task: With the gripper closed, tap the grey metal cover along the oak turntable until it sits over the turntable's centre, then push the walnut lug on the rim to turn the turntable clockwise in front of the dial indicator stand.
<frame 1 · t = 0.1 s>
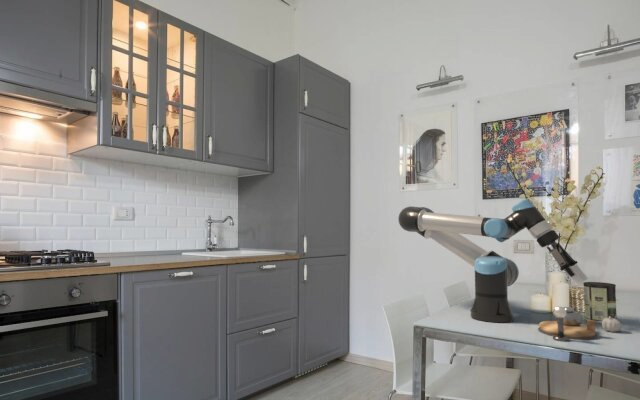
hand: (582, 282, 152), 15 cm above the table, tool tilted 35°, fingers open, 13 cm apart
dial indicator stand: (560, 339, 129), on the table
cast cover: (568, 324, 141), point 2 cm above the table, touching turntable
turntable base: (566, 332, 138), on the table
turntable: (566, 324, 138), point 3 cm above the table, hinge at 0.0°, touching cast cover
garlic: (611, 332, 141), on the table
coffee can: (600, 321, 157), on the table
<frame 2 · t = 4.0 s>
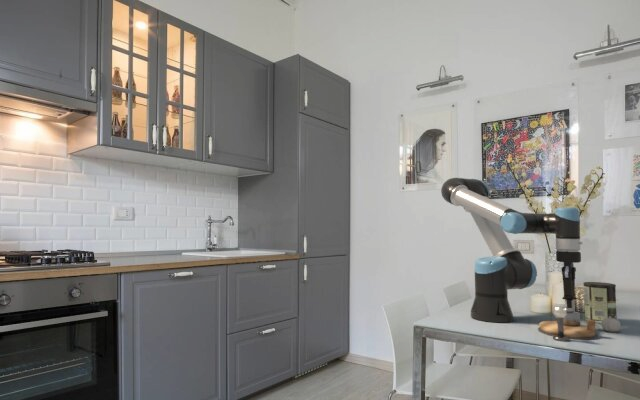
hand: (570, 318, 145), 3 cm above the table, tool pointing down, fingers closed
cast cover: (568, 324, 141), point 2 cm above the table, touching gripper, turntable
everything else where it was.
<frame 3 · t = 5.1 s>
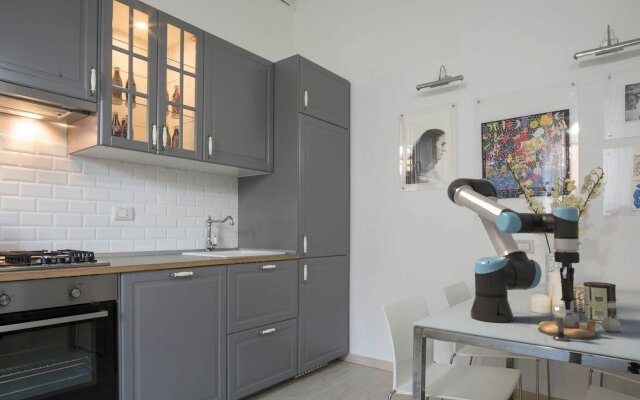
hand: (568, 319, 142), 3 cm above the table, tool pointing down, fingers closed
cast cover: (567, 326, 138), point 2 cm above the table, touching gripper, turntable
everything else where it was.
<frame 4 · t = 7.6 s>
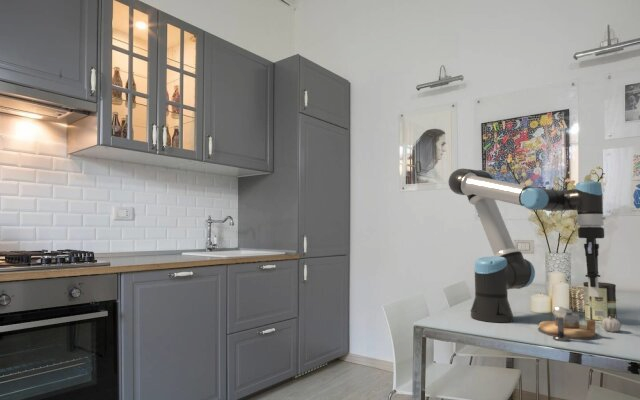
hand: (593, 296, 139), 12 cm above the table, tool pointing down, fingers closed
cast cover: (567, 326, 138), point 2 cm above the table, touching turntable
everything else where it was.
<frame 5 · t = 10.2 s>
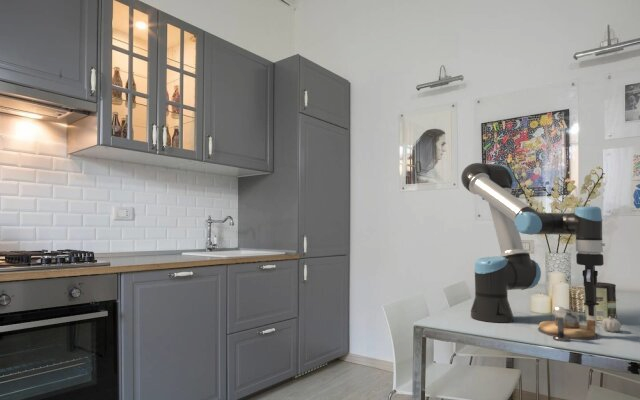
hand: (591, 325, 135), 3 cm above the table, tool pointing down, fingers closed
turntable: (566, 324, 138), point 3 cm above the table, hinge at -0.8°, touching cast cover, gripper
everything else where it was.
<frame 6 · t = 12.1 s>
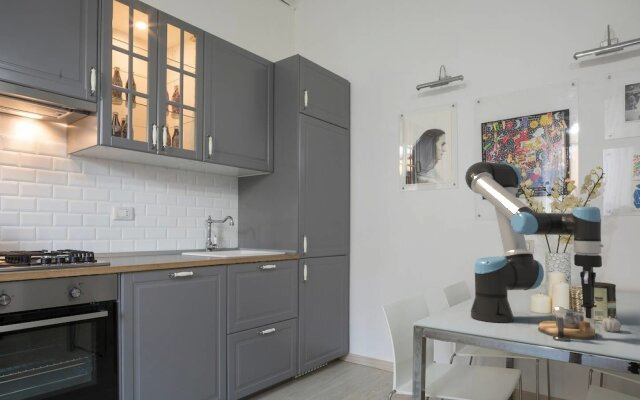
hand: (589, 327, 132), 3 cm above the table, tool pointing down, fingers closed
turntable: (566, 324, 138), point 3 cm above the table, hinge at -35.5°, touching cast cover, gripper
everything else where it was.
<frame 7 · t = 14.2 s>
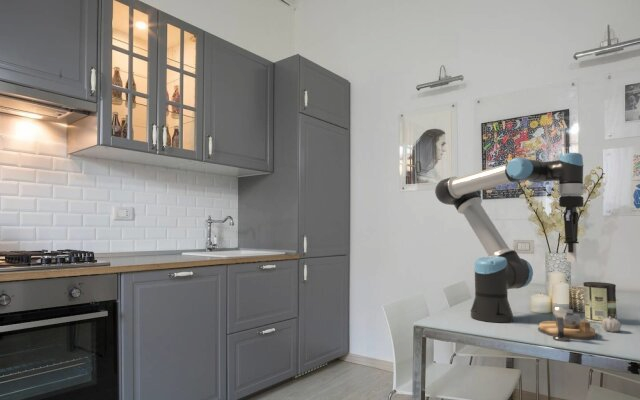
hand: (571, 261, 147), 23 cm above the table, tool pointing down, fingers closed
turntable: (566, 324, 138), point 3 cm above the table, hinge at -35.5°, touching cast cover
everything else where it was.
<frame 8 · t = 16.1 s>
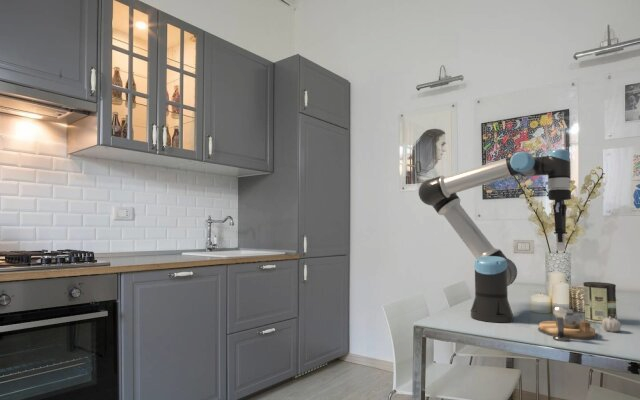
hand: (561, 250, 158), 26 cm above the table, tool pointing down, fingers closed
nothing on the table moved.
at the end: cast cover 0.6 cm from the turntable (horizontally); turntable at -36° (first picture: +0°); cast cover tilted 0° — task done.
